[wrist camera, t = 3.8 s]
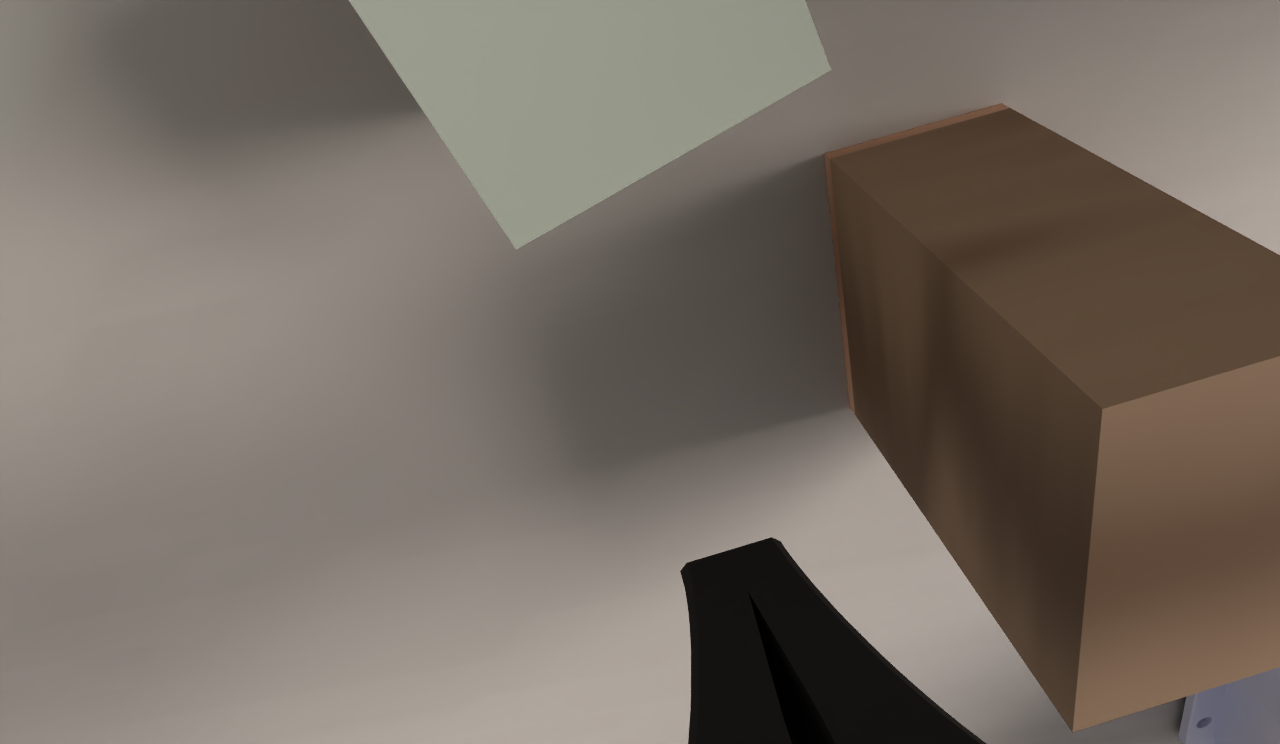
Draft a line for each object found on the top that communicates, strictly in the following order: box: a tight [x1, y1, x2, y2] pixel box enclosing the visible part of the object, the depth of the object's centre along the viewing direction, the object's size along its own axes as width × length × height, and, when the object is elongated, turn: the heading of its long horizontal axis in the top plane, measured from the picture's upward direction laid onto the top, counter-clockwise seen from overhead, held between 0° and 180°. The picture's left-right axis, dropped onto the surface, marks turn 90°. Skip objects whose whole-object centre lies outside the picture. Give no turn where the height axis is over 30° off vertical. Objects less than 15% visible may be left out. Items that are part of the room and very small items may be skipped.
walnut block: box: [824, 104, 1280, 732], centre depth 15 cm, size 6×4×8 cm, turn 12°
